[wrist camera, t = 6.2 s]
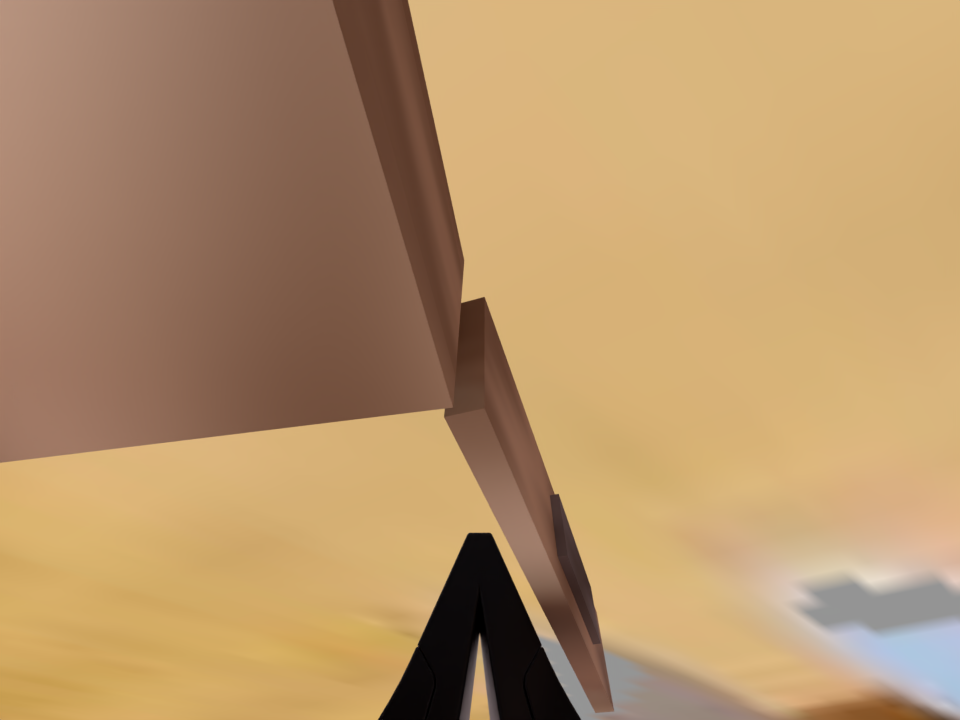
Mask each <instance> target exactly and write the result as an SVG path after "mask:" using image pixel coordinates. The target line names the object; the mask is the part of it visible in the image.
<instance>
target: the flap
mask: <svg viewBox="0 0 960 720" xmlns="http://www.w3.org/2000/svg"><path fill="white" fill-rule="evenodd" d="M444 418H445V420H446V422H447V424H448V426H449V428H450V430H451V432H452V434H453V436H454V438H455V440H456V442H457V444H458V446H459V448H460V449H461V451H462V453H463V455H464V457H465V459H466V461H467V463H468V465H469V467H470V469H471V471H472V473H473V475H474V477H475V479H476V481H477V483H478V485H479V487H480V489H481V491H482V492H483V494H484V496H485V498H486V500H487V502H488V504H489V506H490V508H491V510H492V512H493V514H494V516H495V518H496V520H497V522H498V524H499V526H500V528H501V530H502V532H503V534H504V535H505V537H506V539H507V541H508V543H509V545H510V547H511V549H512V551H513V553H514V555H515V557H516V559H517V561H518V563H519V565H520V567H521V569H522V571H523V573H524V575H525V577H526V578H527V580H528V582H529V584H530V586H531V588H532V590H533V592H534V594H535V596H536V598H537V600H538V602H539V604H540V606H541V608H542V610H543V612H544V614H545V616H546V618H547V620H548V621H549V623H550V625H551V627H552V629H553V631H554V633H555V635H556V637H557V639H558V641H559V643H560V645H561V647H562V649H563V651H564V653H565V655H566V657H567V659H568V661H569V663H570V664H571V666H572V668H573V670H574V672H575V674H576V676H577V678H578V680H579V682H580V684H581V686H582V688H583V690H584V692H585V694H586V696H587V698H588V700H589V702H590V704H591V706H592V707H593V709H594V711H595V713H602V712H614V707H613V701H612V696H611V690H610V684H609V679H608V673H607V667H606V662H605V656H604V651H603V645H602V639H601V634H600V628H599V622H598V617H597V612H596V609H595V606H594V602H593V596H592V590H591V586H590V583H589V580H588V577H587V574H586V571H585V568H584V566H583V563H582V560H581V557H580V554H579V551H578V548H577V545H576V542H575V539H574V537H573V534H572V531H571V528H570V525H569V522H568V519H567V516H566V513H565V511H564V508H563V505H562V502H561V499H560V496H559V494H555V493H554V491H553V488H552V485H551V482H550V479H549V477H548V474H547V471H546V468H545V465H544V462H543V460H542V457H541V454H540V451H539V448H538V446H537V443H536V440H535V437H534V434H533V432H532V429H531V426H530V423H529V420H528V417H527V415H526V412H525V409H524V406H523V403H522V401H521V398H520V395H519V392H518V389H517V386H516V384H515V381H514V378H513V375H512V372H511V370H510V367H509V364H508V361H507V358H506V355H505V353H504V350H503V347H502V344H501V341H500V339H499V336H498V333H497V330H496V327H495V324H494V322H493V319H492V316H491V313H490V310H489V308H488V305H487V302H486V299H485V297H482V298H478V299H474V300H470V301H467V302H463V303H461V311H460V324H459V337H458V350H457V363H456V376H455V390H454V403H453V408H446V409H445V412H444Z"/></svg>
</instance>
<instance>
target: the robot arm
mask: <svg viewBox="0 0 960 720" xmlns="http://www.w3.org/2000/svg"><path fill="white" fill-rule="evenodd" d="M479 635H480V640H481V648H482V657H483V665H484V674H485V682H486V691H487V699H488V708H489V716H490V720H581V718H580V717H579V715H578V713H577V712H576V710H575V708H574V706H573V705H572V703H571V701H570V700H569V698H568V696H567V694H566V692H565V691H564V689H563V687H562V685H561V683H560V682H559V680H558V678H557V676H556V673H555V671H554V669H553V667H552V665H551V663H550V661H549V659H548V657H547V654H546V652H545V650H544V648H543V647H542V644H541V642H540V640H539V637H538V635H537V633H536V631H535V629H534V626H533V624H532V622H531V620H530V617H529V615H528V613H527V611H526V609H525V606H524V604H523V602H522V600H521V597H520V595H519V593H518V591H517V589H516V586H515V584H514V582H513V580H512V577H511V575H510V573H509V571H508V568H507V566H506V564H505V562H504V560H503V557H502V555H501V553H500V551H499V548H498V546H497V544H496V542H495V540H494V537H493V535H492V534H491V533H468V534H467V536H466V538H465V541H464V543H463V545H462V547H461V549H460V552H459V554H458V556H457V558H456V560H455V563H454V565H453V567H452V569H451V572H450V574H449V576H448V578H447V580H446V583H445V585H444V587H443V589H442V592H441V594H440V596H439V598H438V600H437V603H436V605H435V607H434V609H433V611H432V614H431V616H430V618H429V620H428V623H427V625H426V627H425V629H424V631H423V634H422V636H421V638H420V640H419V642H418V647H416V648H415V651H414V653H413V655H412V657H411V659H410V662H409V664H408V666H407V668H406V670H405V672H404V674H403V676H402V678H401V680H400V682H399V684H398V686H397V687H396V689H395V691H394V693H393V695H392V696H391V698H390V700H389V702H388V703H387V705H386V707H385V708H384V710H383V712H382V713H381V715H380V717H379V718H378V720H469V719H470V711H471V702H472V694H473V685H474V677H475V669H476V660H477V652H478V643H479Z"/></svg>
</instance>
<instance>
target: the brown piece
mask: <svg viewBox="0 0 960 720" xmlns="http://www.w3.org/2000/svg"><path fill="white" fill-rule="evenodd" d="M463 272H464V256H463V252H462V247H461V242H460V238H459V233H458V229H457V224H456V219H455V215H454V210H453V206H452V201H451V196H450V192H449V187H448V183H447V178H446V173H445V169H444V164H443V160H442V155H441V150H440V146H439V141H438V136H437V132H436V127H435V123H434V118H433V113H432V109H431V104H430V100H429V95H428V90H427V86H426V81H425V77H424V72H423V67H422V63H421V58H420V53H419V49H418V44H417V40H416V35H415V30H414V26H413V21H412V17H411V12H410V7H409V3H408V0H0V463H3V462H11V461H19V460H28V459H36V458H44V457H52V456H60V455H69V454H77V453H85V452H93V451H101V450H110V449H118V448H126V447H134V446H142V445H151V444H159V443H167V442H175V441H183V440H192V439H200V438H208V437H216V436H224V435H233V434H241V433H249V432H257V431H265V430H273V429H282V428H290V427H298V426H306V425H314V424H323V423H331V422H339V421H347V420H355V419H364V418H372V417H380V416H388V415H396V414H405V413H413V412H421V411H429V410H437V409H446V408H453V403H454V390H455V376H456V363H457V350H458V337H459V324H460V311H461V298H462V285H463Z"/></svg>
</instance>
